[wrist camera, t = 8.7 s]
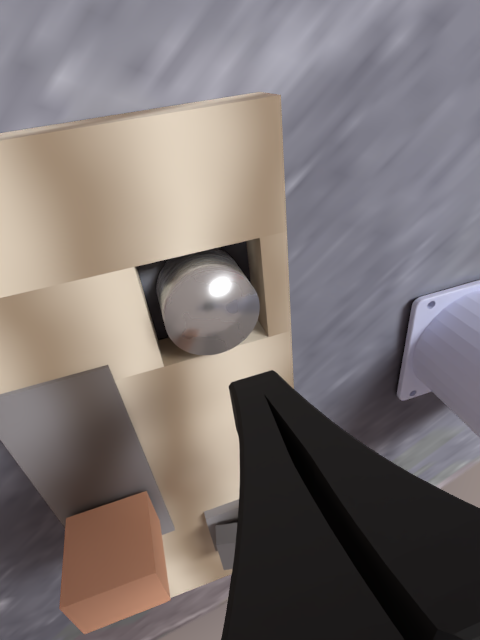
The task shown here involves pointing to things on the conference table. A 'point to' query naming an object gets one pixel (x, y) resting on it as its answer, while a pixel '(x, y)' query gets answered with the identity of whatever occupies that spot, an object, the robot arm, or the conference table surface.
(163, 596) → the slide paddle
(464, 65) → the conference table surface
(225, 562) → the rocker switch
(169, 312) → the push button
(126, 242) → the control panel
